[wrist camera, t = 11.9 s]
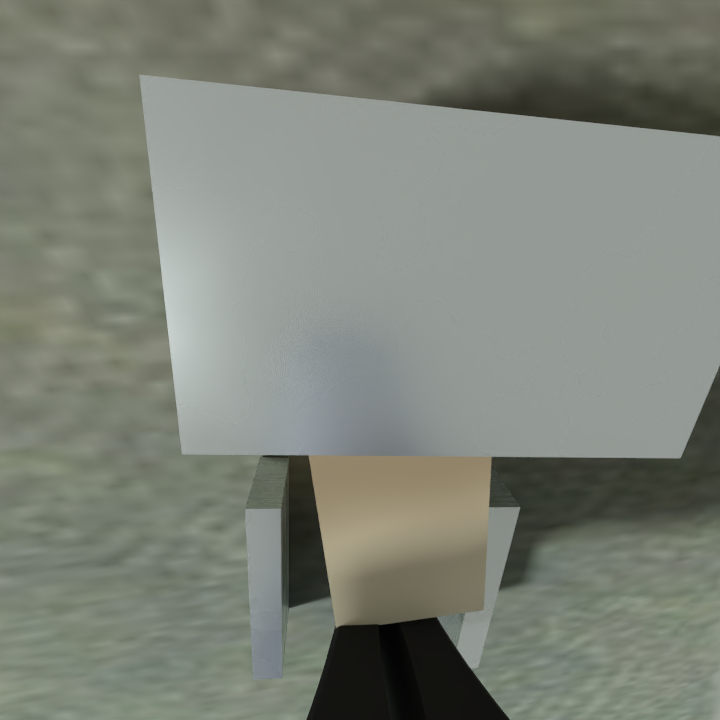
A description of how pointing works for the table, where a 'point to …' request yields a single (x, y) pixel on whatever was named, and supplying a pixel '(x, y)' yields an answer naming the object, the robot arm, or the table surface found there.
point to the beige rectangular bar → (403, 535)
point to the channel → (272, 568)
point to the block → (430, 277)
